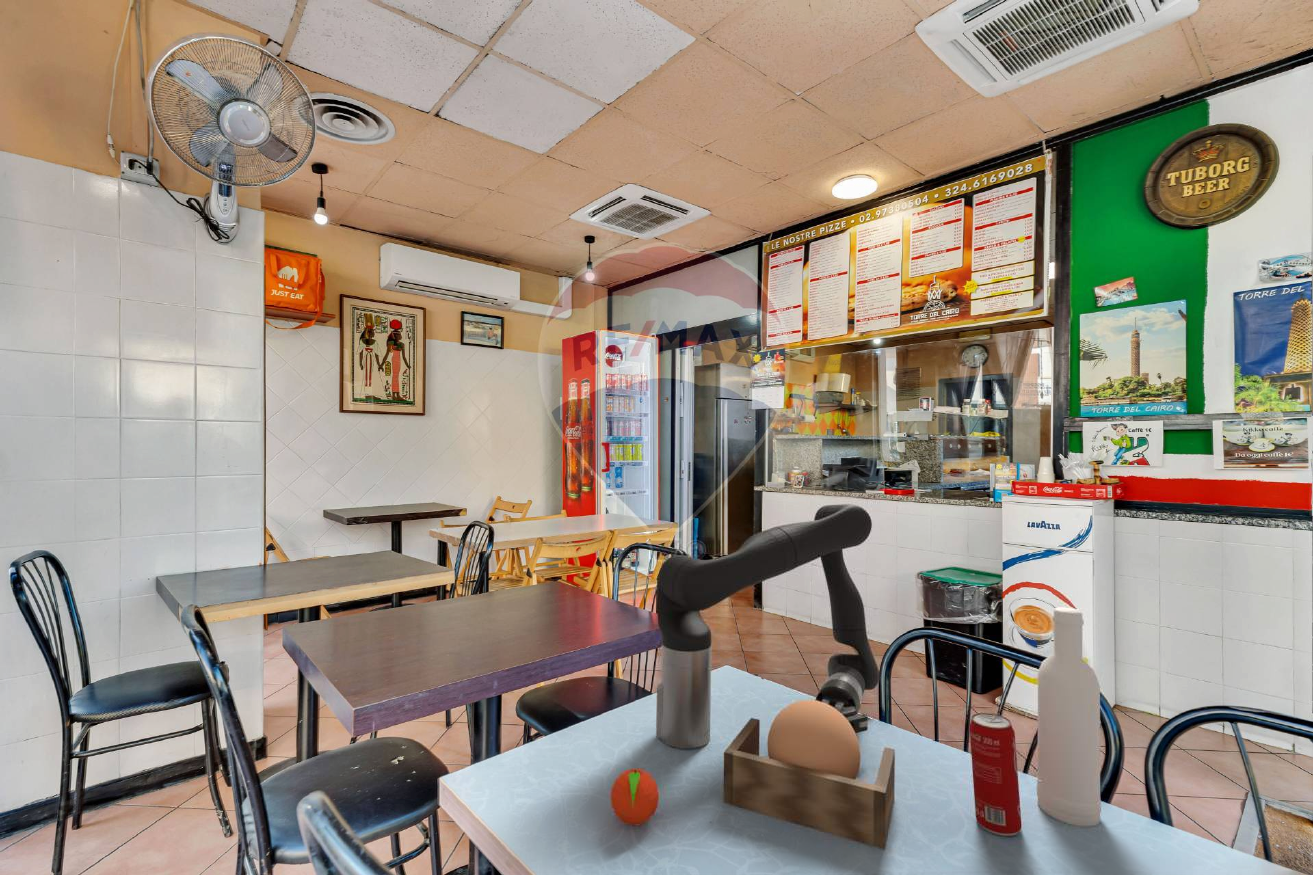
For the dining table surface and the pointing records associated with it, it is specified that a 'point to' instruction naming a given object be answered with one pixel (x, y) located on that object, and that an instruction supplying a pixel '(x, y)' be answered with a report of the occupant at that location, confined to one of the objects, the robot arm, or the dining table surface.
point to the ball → (815, 739)
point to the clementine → (634, 797)
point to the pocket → (809, 792)
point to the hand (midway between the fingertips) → (821, 735)
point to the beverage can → (995, 774)
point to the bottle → (1069, 728)
